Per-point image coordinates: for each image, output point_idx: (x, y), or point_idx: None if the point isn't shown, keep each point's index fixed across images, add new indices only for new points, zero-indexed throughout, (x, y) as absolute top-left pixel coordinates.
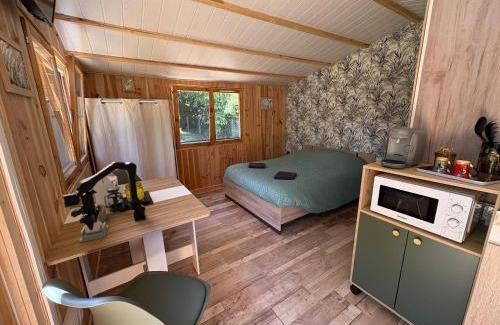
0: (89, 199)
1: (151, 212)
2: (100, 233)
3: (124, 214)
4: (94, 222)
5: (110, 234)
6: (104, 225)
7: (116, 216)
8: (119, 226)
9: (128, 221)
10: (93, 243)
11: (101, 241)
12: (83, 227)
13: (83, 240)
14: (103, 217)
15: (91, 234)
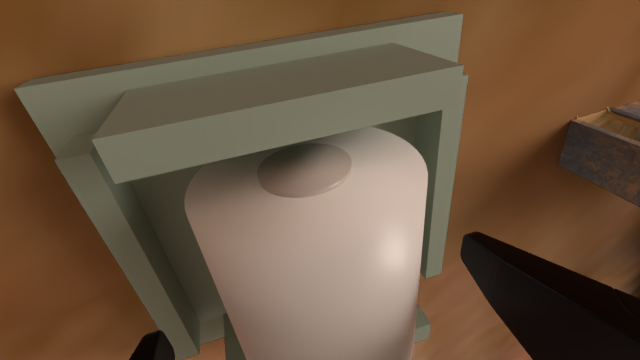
0: None
1: None
2: (177, 350)
3: (586, 270)
4: (392, 343)
5: (224, 352)
6: None
7: (599, 224)
8: None
9: (431, 354)
10: (3, 304)
11: (62, 356)
12: (387, 85)
13: (62, 150)
14: (624, 196)
15: (151, 270)
